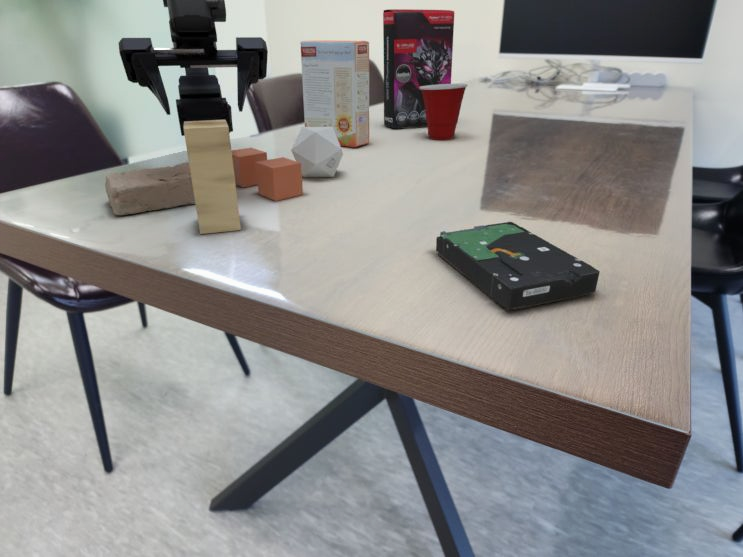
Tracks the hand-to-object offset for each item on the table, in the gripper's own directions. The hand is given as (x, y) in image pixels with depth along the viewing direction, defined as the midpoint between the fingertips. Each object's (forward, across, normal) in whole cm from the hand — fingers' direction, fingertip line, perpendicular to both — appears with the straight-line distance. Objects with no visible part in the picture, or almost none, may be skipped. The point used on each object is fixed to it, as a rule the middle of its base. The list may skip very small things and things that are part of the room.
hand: (205, 111), depth 67 cm
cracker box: (-18, +28, +37) cm, 50 cm away
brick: (+6, -6, +14) cm, 16 cm away
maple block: (+15, 0, +4) cm, 15 cm away
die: (0, +18, +19) cm, 26 cm away
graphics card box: (-28, +54, +48) cm, 78 cm away
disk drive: (+32, +28, -13) cm, 45 cm away
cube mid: (+7, +10, +12) cm, 17 cm away
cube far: (+1, +6, +18) cm, 19 cm away
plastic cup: (-16, +53, +36) cm, 66 cm away
